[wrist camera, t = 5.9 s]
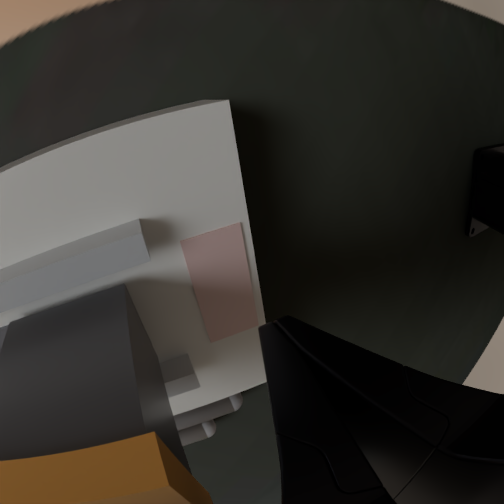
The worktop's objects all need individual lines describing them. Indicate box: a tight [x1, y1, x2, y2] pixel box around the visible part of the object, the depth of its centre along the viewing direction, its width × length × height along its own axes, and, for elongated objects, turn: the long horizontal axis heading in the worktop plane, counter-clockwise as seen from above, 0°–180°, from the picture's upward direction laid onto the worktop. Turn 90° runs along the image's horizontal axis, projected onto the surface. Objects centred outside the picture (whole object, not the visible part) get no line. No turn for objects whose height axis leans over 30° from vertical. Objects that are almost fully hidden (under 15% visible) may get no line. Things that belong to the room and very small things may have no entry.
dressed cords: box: [173, 393, 243, 446], centre depth 15 cm, size 17×3×1 cm, turn 99°
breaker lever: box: [0, 283, 213, 504], centre depth 6 cm, size 4×3×6 cm
